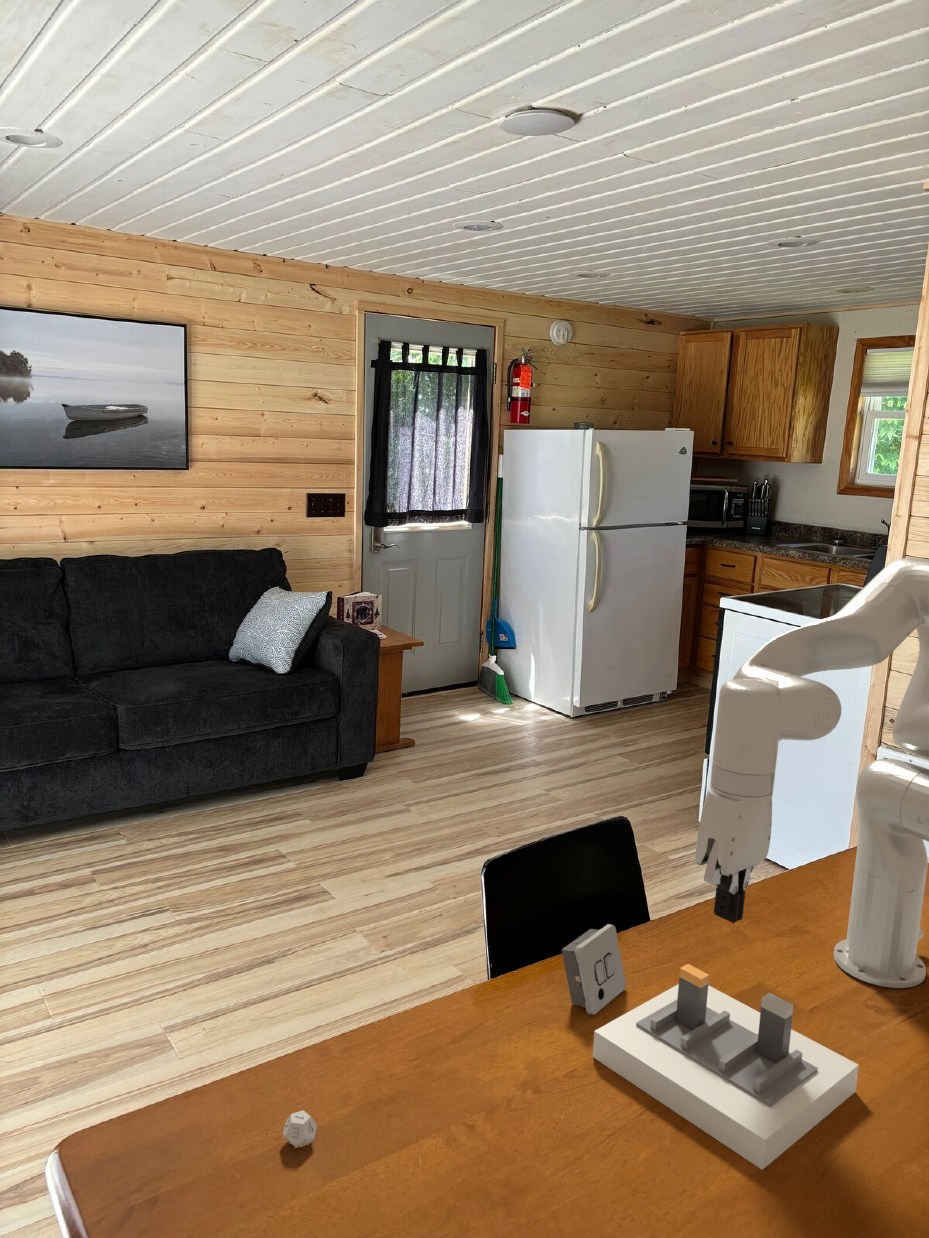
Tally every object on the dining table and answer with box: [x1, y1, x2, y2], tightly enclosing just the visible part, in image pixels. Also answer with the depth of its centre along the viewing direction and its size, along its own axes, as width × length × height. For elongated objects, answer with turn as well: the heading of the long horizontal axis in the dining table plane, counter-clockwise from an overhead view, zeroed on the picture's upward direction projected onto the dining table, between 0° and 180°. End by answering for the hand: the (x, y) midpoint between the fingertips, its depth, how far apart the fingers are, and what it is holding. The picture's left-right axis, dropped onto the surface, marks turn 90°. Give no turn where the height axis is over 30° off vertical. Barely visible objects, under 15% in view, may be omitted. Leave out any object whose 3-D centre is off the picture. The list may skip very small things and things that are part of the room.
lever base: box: [592, 983, 860, 1170], centre depth 116 cm, size 20×24×11 cm
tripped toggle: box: [676, 963, 710, 1030], centre depth 120 cm, size 2×3×7 cm, turn 41°
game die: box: [282, 1109, 318, 1148], centre depth 104 cm, size 4×4×3 cm
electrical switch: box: [561, 923, 627, 1015], centre depth 132 cm, size 9×5×9 cm, turn 141°
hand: (727, 916), depth 122 cm, fingers closed
